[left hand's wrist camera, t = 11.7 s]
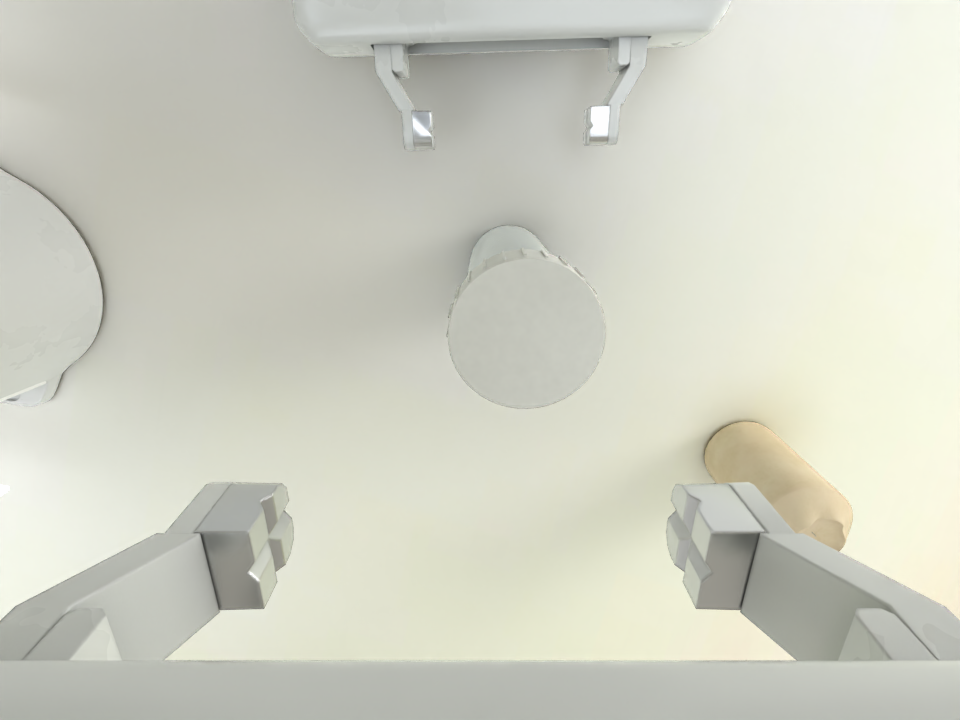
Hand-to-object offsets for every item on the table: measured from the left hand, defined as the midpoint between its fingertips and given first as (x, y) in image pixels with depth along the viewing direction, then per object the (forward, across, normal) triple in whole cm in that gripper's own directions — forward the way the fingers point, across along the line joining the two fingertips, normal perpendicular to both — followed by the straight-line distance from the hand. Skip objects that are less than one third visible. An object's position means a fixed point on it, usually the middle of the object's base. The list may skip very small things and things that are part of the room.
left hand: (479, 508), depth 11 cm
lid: (+10, +2, +1) cm, 10 cm away
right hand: (+20, +2, +7) cm, 22 cm away
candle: (+25, +20, -14) cm, 35 cm away
